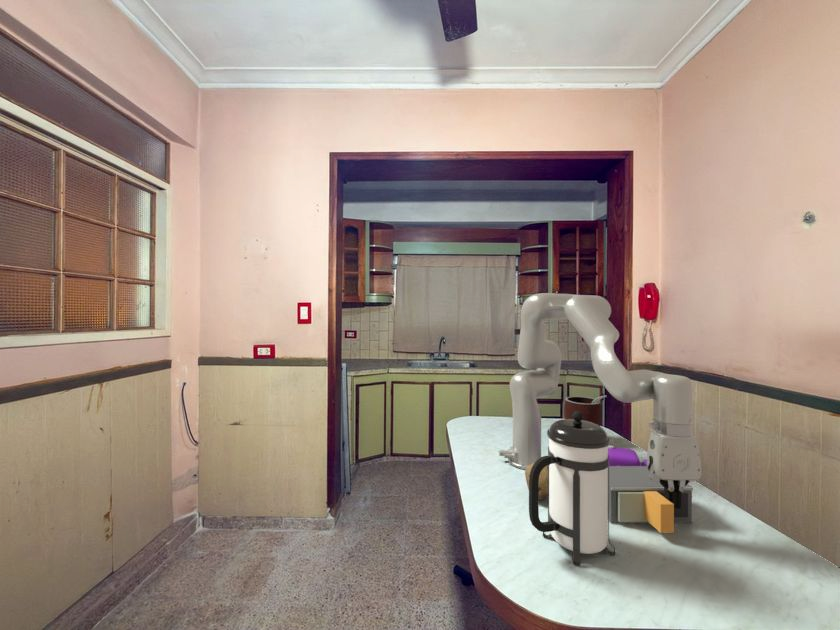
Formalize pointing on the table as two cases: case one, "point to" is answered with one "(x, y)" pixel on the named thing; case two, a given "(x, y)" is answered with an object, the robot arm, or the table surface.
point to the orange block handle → (646, 509)
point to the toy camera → (623, 457)
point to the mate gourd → (584, 408)
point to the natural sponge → (542, 480)
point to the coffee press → (574, 487)
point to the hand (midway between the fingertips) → (672, 505)
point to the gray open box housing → (639, 482)
